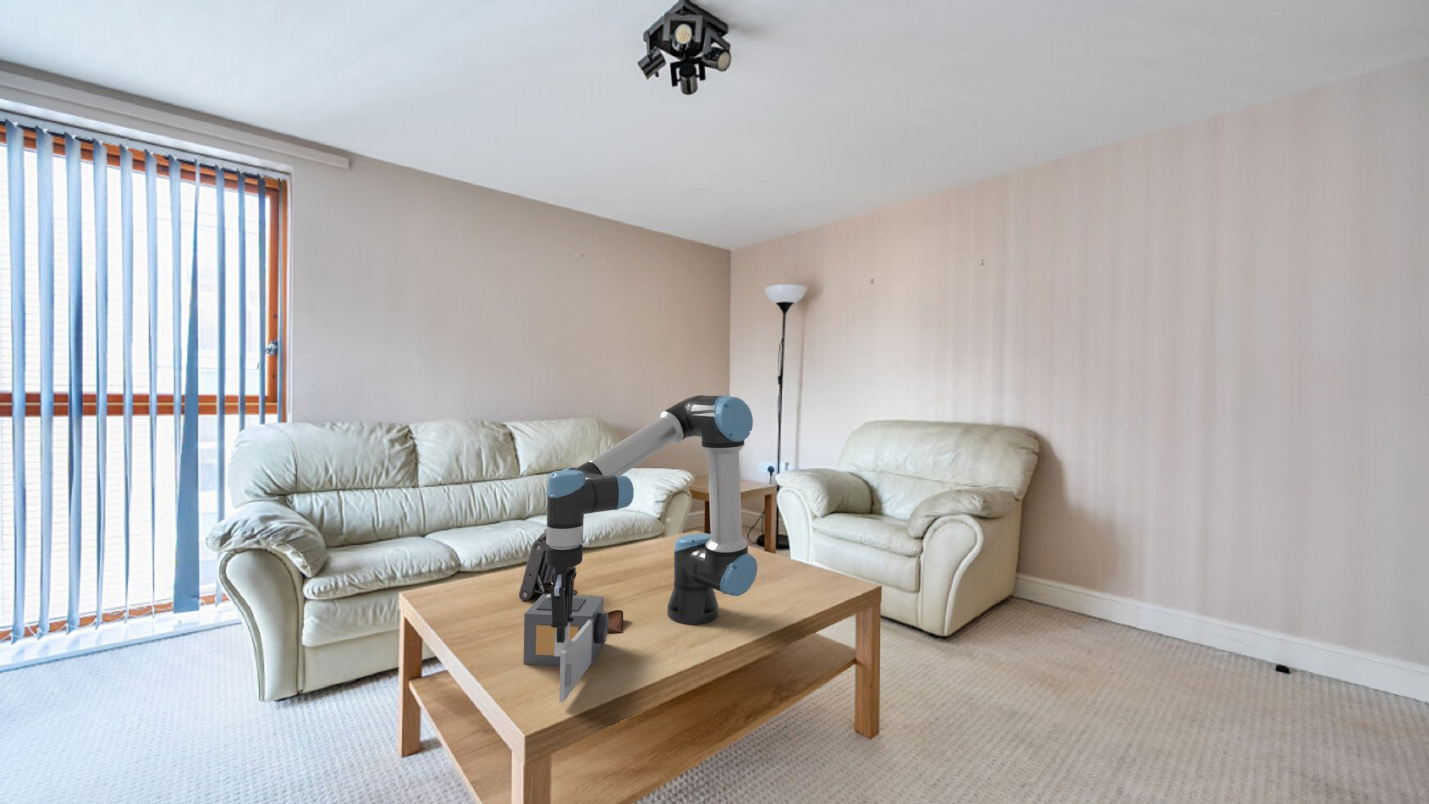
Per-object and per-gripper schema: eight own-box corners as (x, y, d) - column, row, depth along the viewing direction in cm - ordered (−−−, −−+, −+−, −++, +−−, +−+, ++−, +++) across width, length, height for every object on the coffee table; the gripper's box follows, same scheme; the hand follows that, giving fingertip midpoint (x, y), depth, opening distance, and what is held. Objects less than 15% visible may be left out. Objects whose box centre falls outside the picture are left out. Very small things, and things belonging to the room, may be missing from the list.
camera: (566, 614, 162) (584, 551, 162) (513, 598, 162) (532, 536, 162) (576, 600, 173) (593, 542, 173) (527, 585, 173) (544, 527, 173)
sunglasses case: (556, 637, 139) (557, 610, 142) (557, 640, 145) (558, 614, 148) (625, 632, 143) (625, 606, 146) (623, 635, 149) (623, 610, 152)
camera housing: (610, 642, 137) (611, 593, 137) (598, 667, 125) (599, 613, 125) (541, 640, 138) (542, 591, 137) (523, 664, 125) (524, 610, 125)
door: (588, 660, 125) (588, 618, 125) (595, 661, 125) (596, 619, 125) (558, 701, 108) (559, 653, 108) (567, 702, 108) (568, 653, 108)
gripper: (554, 535, 118) (551, 640, 119) (537, 553, 105) (534, 670, 106) (588, 536, 119) (585, 640, 119) (576, 554, 106) (572, 670, 106)
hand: (561, 654), depth 113 cm, fingers closed
